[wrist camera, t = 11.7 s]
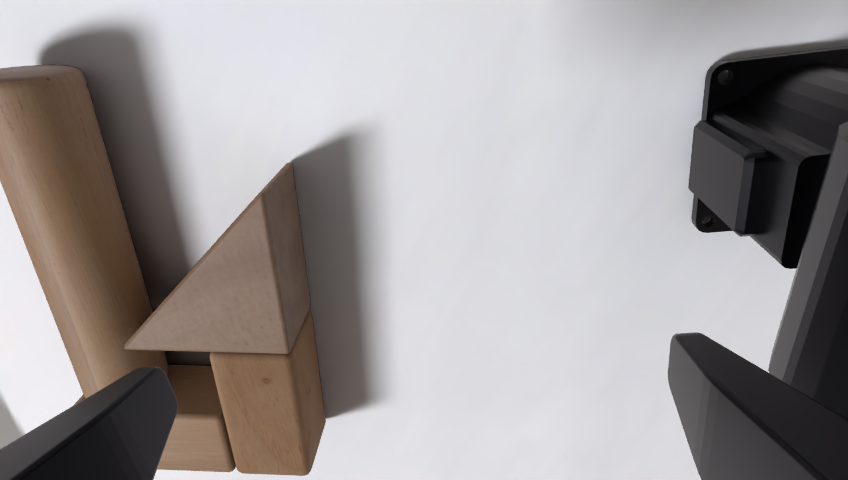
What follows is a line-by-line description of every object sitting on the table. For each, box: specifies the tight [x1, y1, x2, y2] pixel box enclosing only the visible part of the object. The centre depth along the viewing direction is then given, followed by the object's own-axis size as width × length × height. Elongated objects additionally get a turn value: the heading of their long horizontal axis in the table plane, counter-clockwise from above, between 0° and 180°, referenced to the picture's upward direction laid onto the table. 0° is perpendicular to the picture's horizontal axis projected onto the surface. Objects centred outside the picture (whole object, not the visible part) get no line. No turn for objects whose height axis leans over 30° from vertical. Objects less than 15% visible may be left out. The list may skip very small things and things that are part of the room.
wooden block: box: [0, 65, 326, 476], centre depth 23 cm, size 4×11×18 cm
